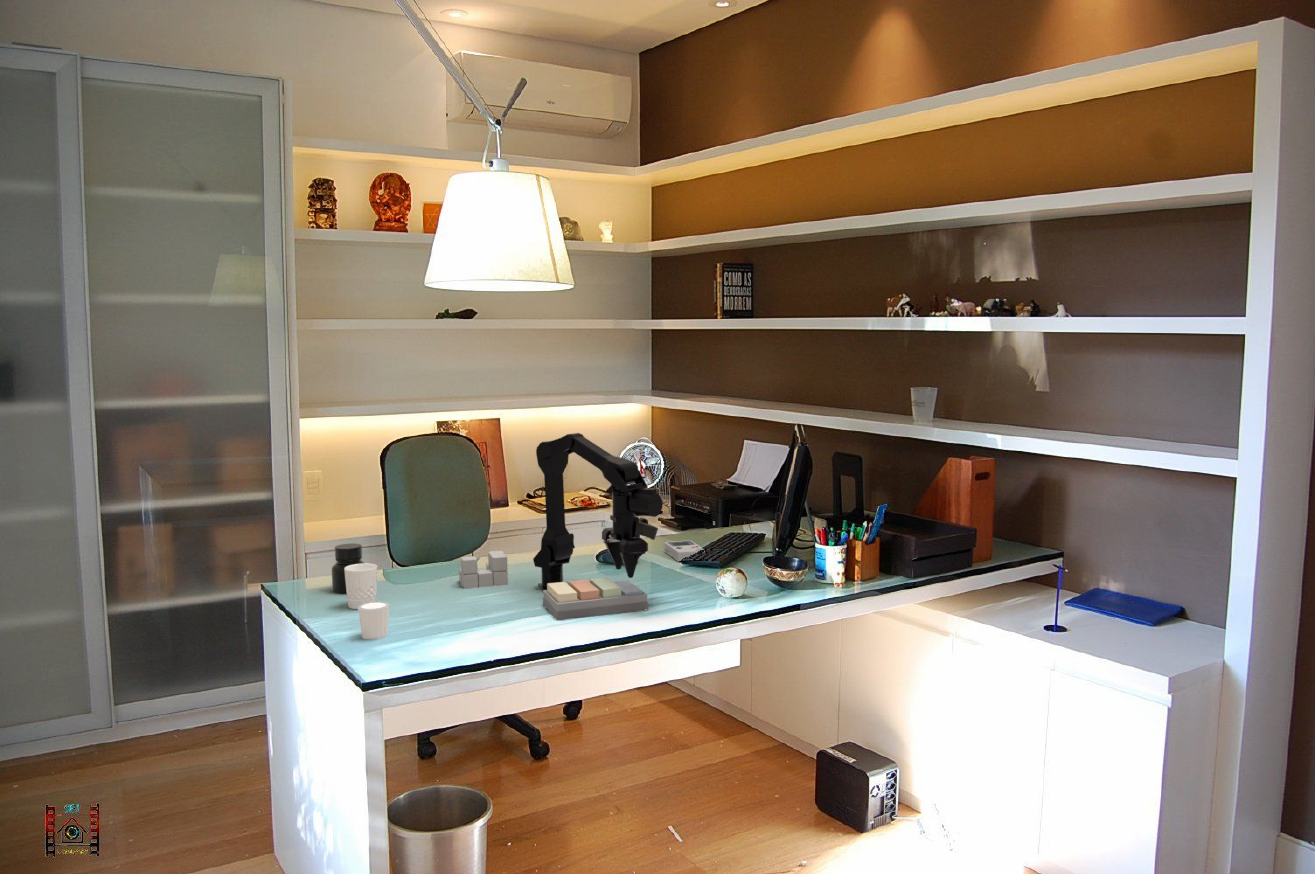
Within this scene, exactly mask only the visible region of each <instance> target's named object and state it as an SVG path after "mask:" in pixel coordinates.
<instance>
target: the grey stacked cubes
mask: <svg viewBox="0 0 1315 874" xmlns="http://www.w3.org/2000/svg"><path fill="white" fill-rule="evenodd" d="M487 555H488V556H487V557H488V558H487V559H488V562H486V563H485V569H480V570H479V569H478V559H477V557H476V556H463V557H460V568H459V569H458V575H459V584H460V585H461V587H462V588H463V589H464V590H465V589H466V590H467V589H474V588H486V587H497V586H507V585H509V578H508V577H509V576H508V575H509V573H508V556H507V555H506V554H505V553H504V552H503V550H494V551H488V552H487Z"/></svg>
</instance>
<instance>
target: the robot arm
mask: <svg viewBox="0 0 1315 874" xmlns="http://www.w3.org/2000/svg"><path fill="white" fill-rule="evenodd" d="M535 452H536V453H535V455H536V460H537V466H538V468H539V469H540V471H541V472H542V474H543V475H544V477H543V478H544V496H545V497H544V501H545V502H544V503H545V517H546V518H545V519H546V520H545V522H546V528H545V531H544V533H543V535H542V537H541V542H540V550H539V551H538V552H537V554H536V555H535V556H534V557H533V558H532V559H533V564H534V567H536V568H540V569H541V582H540V583H538V584H537V585H538V587H539V588H540V589H541V590H542V591H543V590H547V583H557V582H564V567H563V565H564V564H569V563H570V560H571V556H572V555H573V553H574V549H575V548H576V547H575V544H574V539H575V536H574V533H573V532H572V533H570V532H569V530H568V528H566V513H565V512H566V511H565V509H566V508H565V491H564V489H565V488H564V473H565V471H566V468H567V466H568V464H569V455H571V454H573V453H574V454H576V455H578V457H580V458H581V459H584V460H585V461H587V462H588V463H589V464H590V465H592V466H594V467H596V468H597V469H598V470H599V471H601V473H602V476H603V477H604V479H605V480H606V481H607V482H608V483H610V486H609V487H608V488H607V489H606V490H605V494H611V497H612V499H611V500H612V501H611V502H612V515H611V514H610V516H609V519H610V520H611V521H612V527H605V528H604V529H603V530H602V531H601V540H603V544H605V547H606V549H607V551H608V554H609V553H610V554H609V555H610V557H611V560H612V562H613V564H614V566H615V569H616V570H621V569H622V565H623V566H624V569H625V571H626V574H627V577H628V578H629V579H632V578H634V575H635V571H636V568H637V564H638V561H639V559H640V558H641V556H642V555H645V554H646V552H649V543H648V542H647V541H646V540H645V539H643V538H641V537H645V538H649V539H650V540H653V541H654V540H656V536H657V533H658V530H659V528H658V527H657V526H655V525H652V524H650V523H649V520H648V519H647V518H645V517H653V518H654V517H658V516H659V515H660V514H661V512H662V510H663V507H664V506H663V504H664V502H663V500H662V497H661V496H660V494H659V493H658V489H657V488H654V487H653V488H648V483H646V480H645V479H644V477H643V476H642V474H641V472H640V470H639V465H638V464H637V463H636V462H635V461H633V460H629V459H627V458H624V457H618V456H615V455H612V454H611V453H610V452H608V451H606V450H605V449H604V448H602V447H600V446H599V445H597V444H596V443H594V442H592V441H591V440H589V439H588V438H586V437H585V436H584V435H583V433H580V432H574V433H568V434H566V435H564V436H561V437H559V438H556V439H553V440H548V441H541V442H540V443H539V444H538V445H537V446H536V449H535ZM637 515H638V516H637ZM639 515H640V516H645V517H640V518H639ZM634 537H635V538H634ZM622 560H623V563H622Z"/></svg>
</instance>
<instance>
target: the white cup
mask: <svg viewBox="0 0 1315 874" xmlns="http://www.w3.org/2000/svg"><path fill="white" fill-rule="evenodd" d="M344 571H345V582H346V592H347V594H346V597H347V603H348V604H347V605H348V609H352V610H358V606H360V605H361V604H364V603H369V602H377V594H378V593H377V591H378V565H377V564H374V563H365V562H364V563H363V564H354V565H349V566H347V567H345V568H344Z"/></svg>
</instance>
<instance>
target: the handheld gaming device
mask: <svg viewBox="0 0 1315 874" xmlns="http://www.w3.org/2000/svg"><path fill="white" fill-rule="evenodd" d="M663 543H664V544H663V545H664V547H663V548H664V553H665V554H667V555H668V556H669V557H671V558H672V557H673V558H672V559H674V560H675V561H676V562H678V563H680V562H679V561H681V560H682V559H683V558H685V557H689V556H690V555H693V554H695V553H697V552H698V551H700V550H704V548H703V547H702V546H700V545H699V544H697V543H695V542H694V541H692V540H691V539H689V540H676V541H673V540H672V541H664V542H663Z"/></svg>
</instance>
